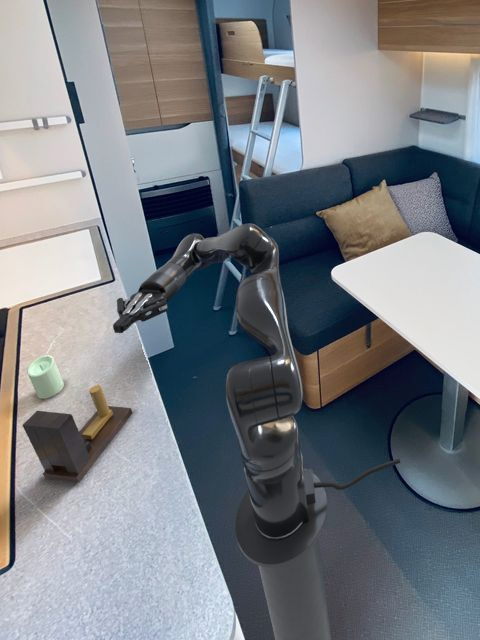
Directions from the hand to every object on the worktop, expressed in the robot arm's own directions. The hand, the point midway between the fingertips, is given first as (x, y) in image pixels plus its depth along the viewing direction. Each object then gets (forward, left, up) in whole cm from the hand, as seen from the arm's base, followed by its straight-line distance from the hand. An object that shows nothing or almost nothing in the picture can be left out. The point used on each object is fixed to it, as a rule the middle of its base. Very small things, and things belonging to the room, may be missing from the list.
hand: (116, 329), depth 89 cm
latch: (+5, +13, -17) cm, 22 cm away
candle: (+19, -5, -17) cm, 27 cm away
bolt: (+4, +10, -15) cm, 19 cm away
